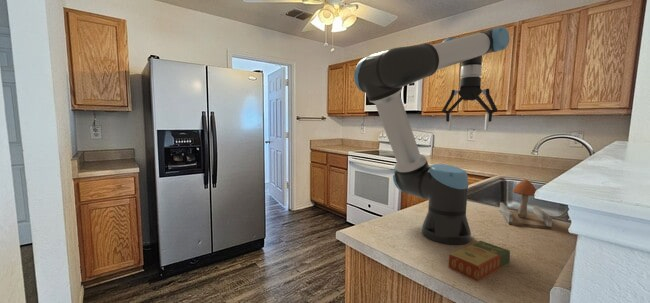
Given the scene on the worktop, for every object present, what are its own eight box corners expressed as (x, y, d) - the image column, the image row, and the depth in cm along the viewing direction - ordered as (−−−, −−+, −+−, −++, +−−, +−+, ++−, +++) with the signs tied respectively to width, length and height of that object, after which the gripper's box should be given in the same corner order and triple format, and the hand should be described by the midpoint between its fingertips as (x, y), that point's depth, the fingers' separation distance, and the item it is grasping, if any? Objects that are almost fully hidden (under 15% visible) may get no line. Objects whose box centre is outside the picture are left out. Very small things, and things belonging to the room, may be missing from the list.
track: (508, 224, 105) (509, 214, 104) (499, 211, 120) (500, 202, 119) (551, 229, 100) (552, 218, 100) (535, 215, 115) (536, 205, 115)
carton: (447, 268, 75) (448, 253, 74) (479, 252, 84) (480, 238, 83) (478, 283, 68) (479, 266, 67) (510, 264, 77) (511, 249, 76)
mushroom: (529, 214, 113) (533, 177, 111) (539, 221, 105) (543, 182, 103) (507, 212, 115) (510, 176, 113) (515, 219, 107) (518, 181, 105)
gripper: (504, 76, 113) (500, 129, 115) (437, 80, 122) (435, 129, 124) (508, 74, 106) (504, 130, 108) (437, 77, 115) (435, 129, 117)
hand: (467, 129), depth 116 cm, fingers open, 13 cm apart
